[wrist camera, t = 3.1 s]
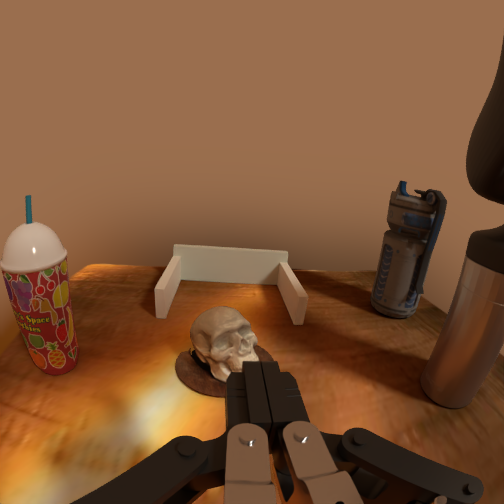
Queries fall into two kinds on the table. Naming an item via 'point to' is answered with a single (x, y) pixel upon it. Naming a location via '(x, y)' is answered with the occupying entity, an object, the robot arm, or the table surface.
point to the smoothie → (41, 294)
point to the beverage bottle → (407, 250)
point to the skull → (218, 350)
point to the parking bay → (231, 274)
